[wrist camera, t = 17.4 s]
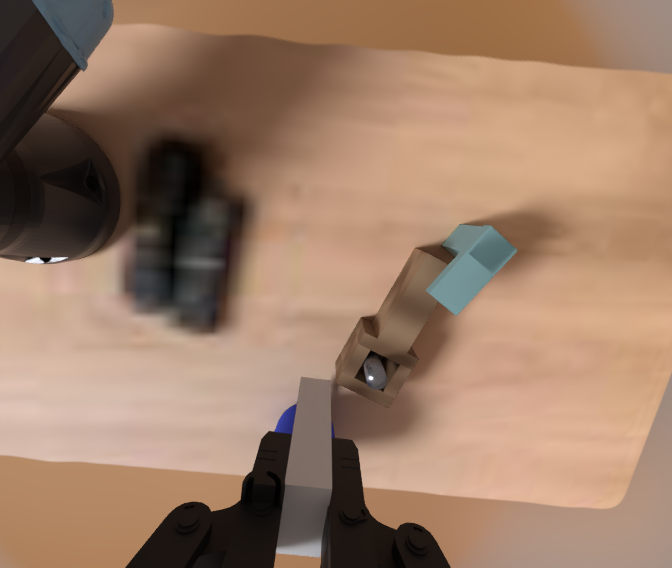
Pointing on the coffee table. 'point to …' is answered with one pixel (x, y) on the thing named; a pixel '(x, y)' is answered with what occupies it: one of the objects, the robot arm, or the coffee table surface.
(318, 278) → the coffee table surface
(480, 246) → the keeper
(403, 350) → the link
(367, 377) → the rod
